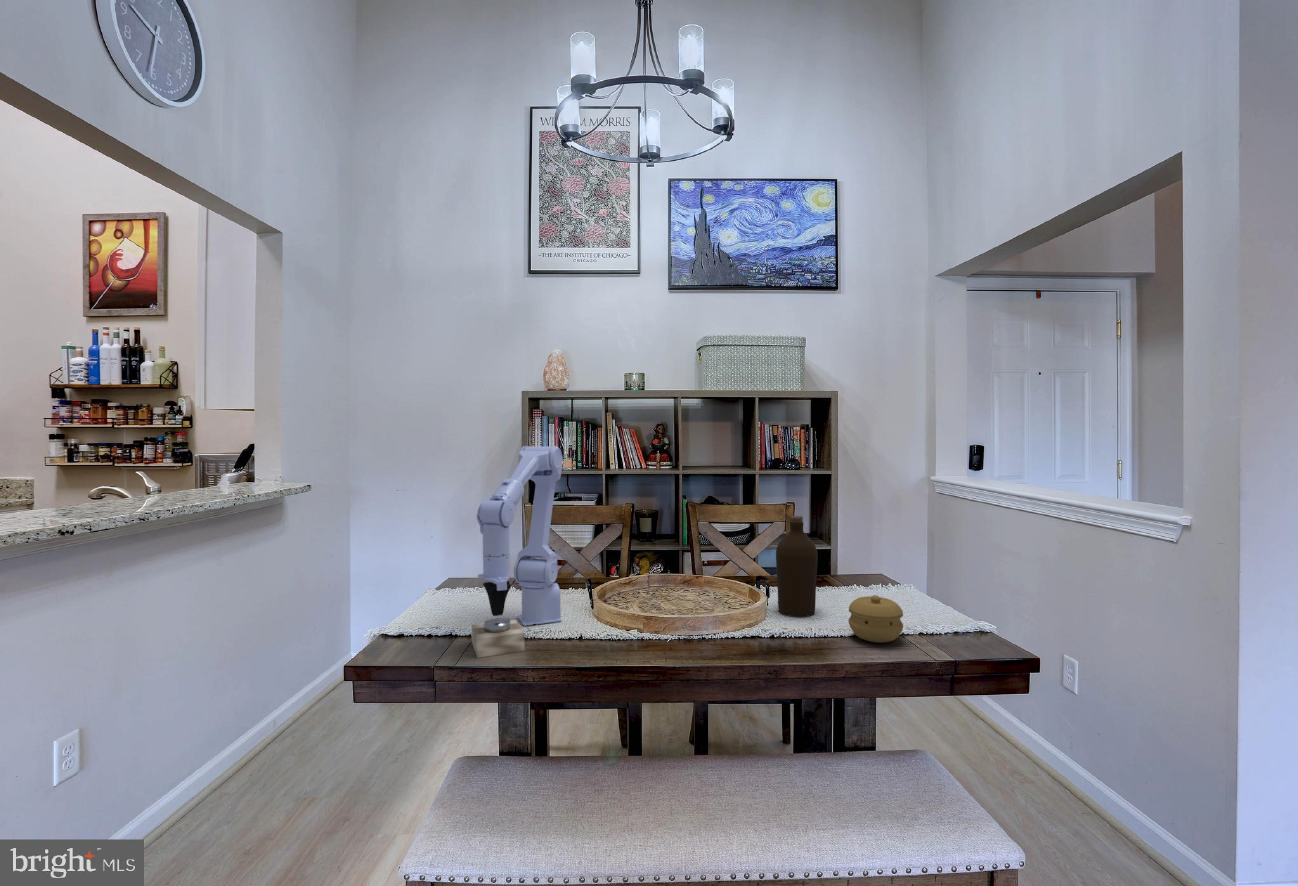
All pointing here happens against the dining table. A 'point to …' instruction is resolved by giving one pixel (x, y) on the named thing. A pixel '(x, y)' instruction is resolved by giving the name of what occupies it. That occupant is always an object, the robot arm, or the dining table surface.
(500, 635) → the maple block
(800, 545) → the olive oil
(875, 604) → the lidded pot
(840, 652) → the dining table surface
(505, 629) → the grey metal knob
